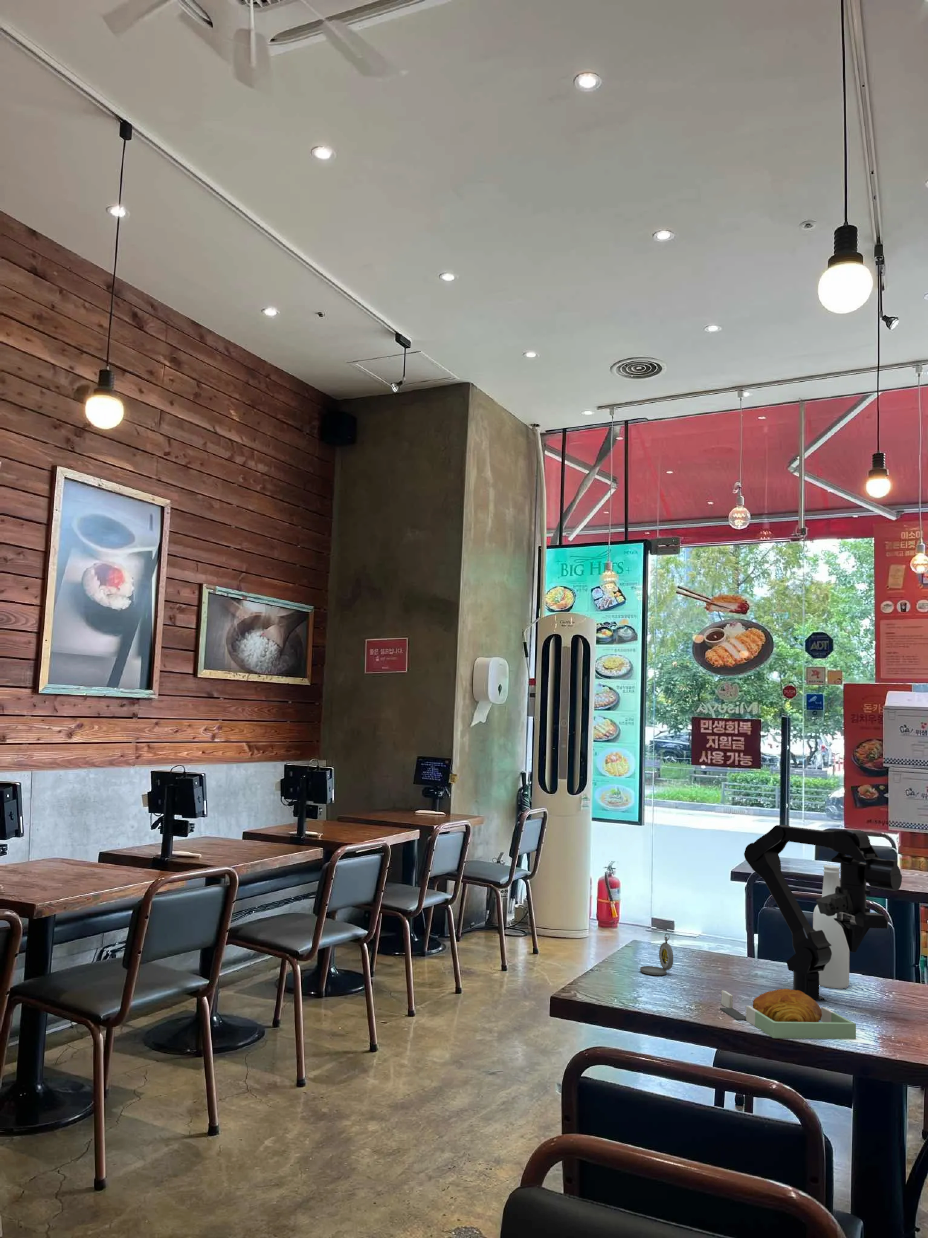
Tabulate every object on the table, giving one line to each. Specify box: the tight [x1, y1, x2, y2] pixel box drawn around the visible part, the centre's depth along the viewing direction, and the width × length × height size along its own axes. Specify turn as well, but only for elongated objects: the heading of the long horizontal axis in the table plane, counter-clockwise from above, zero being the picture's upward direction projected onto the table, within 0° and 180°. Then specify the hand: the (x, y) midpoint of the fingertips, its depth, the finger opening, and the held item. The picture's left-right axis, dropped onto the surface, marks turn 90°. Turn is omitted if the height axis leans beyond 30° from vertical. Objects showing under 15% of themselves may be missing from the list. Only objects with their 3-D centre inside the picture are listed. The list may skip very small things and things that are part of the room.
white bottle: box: [812, 864, 850, 990], centre depth 237 cm, size 9×9×30 cm
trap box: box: [719, 990, 857, 1040], centre depth 200 cm, size 24×23×3 cm
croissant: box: [752, 988, 822, 1022], centre depth 199 cm, size 14×16×8 cm
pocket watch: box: [639, 932, 674, 976], centre depth 236 cm, size 8×8×10 cm
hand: (852, 952), depth 214 cm, fingers closed
